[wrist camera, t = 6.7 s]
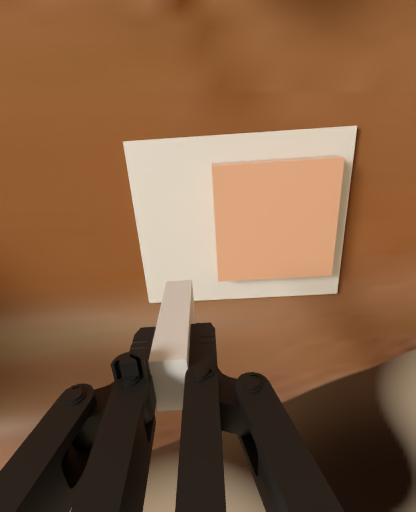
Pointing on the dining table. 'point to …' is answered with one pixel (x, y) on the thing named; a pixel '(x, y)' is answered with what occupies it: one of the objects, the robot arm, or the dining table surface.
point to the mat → (202, 207)
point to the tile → (276, 217)
